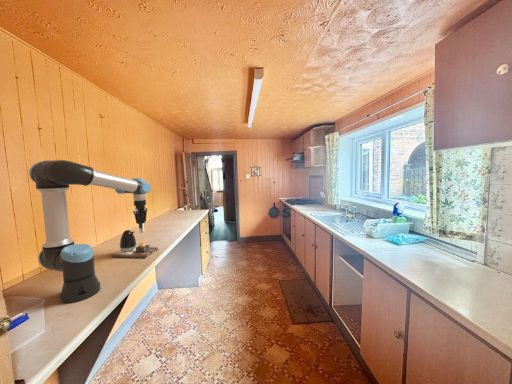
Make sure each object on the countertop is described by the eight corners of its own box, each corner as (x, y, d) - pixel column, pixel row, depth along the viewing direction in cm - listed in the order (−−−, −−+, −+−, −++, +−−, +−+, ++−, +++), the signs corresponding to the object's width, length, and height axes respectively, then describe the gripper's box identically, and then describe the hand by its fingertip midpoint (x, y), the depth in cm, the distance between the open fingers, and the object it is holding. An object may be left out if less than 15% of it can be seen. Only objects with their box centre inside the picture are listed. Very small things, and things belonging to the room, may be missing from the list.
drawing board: (145, 258, 142) (145, 250, 142) (111, 257, 144) (110, 250, 144) (158, 249, 158) (158, 242, 158) (127, 249, 160) (127, 242, 160)
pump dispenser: (130, 253, 146) (129, 232, 145) (116, 253, 147) (115, 232, 146) (139, 248, 156) (138, 228, 155) (127, 247, 157) (125, 228, 156)
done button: (143, 248, 148) (143, 244, 148) (138, 248, 149) (138, 244, 148) (147, 246, 152) (146, 242, 152) (141, 246, 153) (141, 242, 152)
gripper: (138, 201, 140) (141, 235, 143) (150, 198, 153) (152, 229, 156) (128, 201, 141) (131, 235, 144) (140, 198, 154) (142, 229, 156)
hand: (142, 232), depth 150 cm, fingers closed
